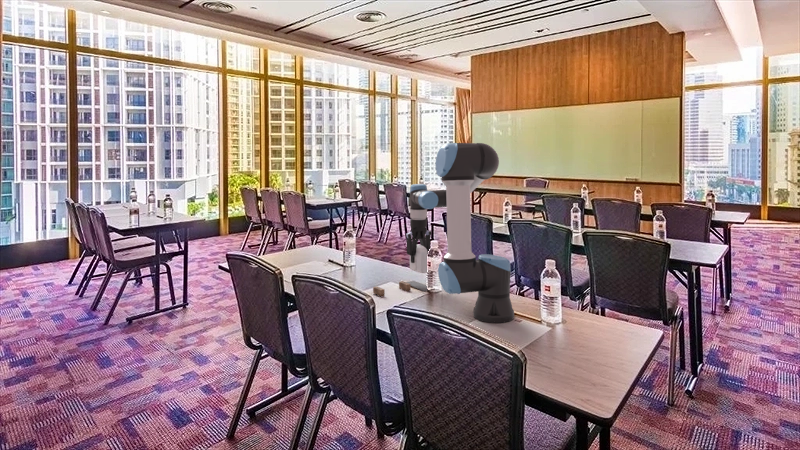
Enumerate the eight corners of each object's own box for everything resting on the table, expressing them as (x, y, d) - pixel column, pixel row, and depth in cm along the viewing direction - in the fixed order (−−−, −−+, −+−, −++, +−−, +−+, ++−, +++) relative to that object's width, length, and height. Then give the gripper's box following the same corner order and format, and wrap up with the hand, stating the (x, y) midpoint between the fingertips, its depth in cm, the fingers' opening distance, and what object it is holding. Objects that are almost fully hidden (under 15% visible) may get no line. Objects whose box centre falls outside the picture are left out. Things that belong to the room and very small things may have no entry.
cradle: (410, 290, 224) (410, 284, 223) (380, 296, 214) (380, 290, 214) (402, 287, 228) (402, 281, 228) (373, 293, 219) (373, 287, 219)
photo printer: (408, 269, 232) (408, 243, 230) (415, 268, 235) (415, 242, 233) (421, 274, 224) (421, 247, 222) (429, 272, 226) (429, 246, 224)
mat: (434, 289, 225) (434, 288, 225) (424, 291, 222) (424, 290, 222) (413, 281, 238) (413, 280, 238) (403, 283, 235) (403, 282, 235)
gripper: (428, 215, 233) (428, 264, 237) (398, 219, 223) (398, 270, 227) (438, 217, 227) (438, 267, 231) (407, 221, 217) (408, 273, 221)
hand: (418, 268), depth 229 cm, fingers closed on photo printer, 4 cm apart
